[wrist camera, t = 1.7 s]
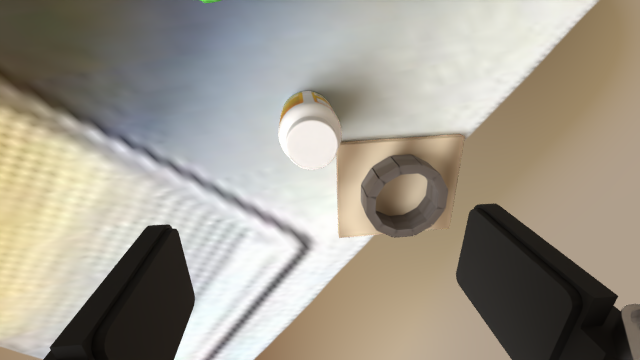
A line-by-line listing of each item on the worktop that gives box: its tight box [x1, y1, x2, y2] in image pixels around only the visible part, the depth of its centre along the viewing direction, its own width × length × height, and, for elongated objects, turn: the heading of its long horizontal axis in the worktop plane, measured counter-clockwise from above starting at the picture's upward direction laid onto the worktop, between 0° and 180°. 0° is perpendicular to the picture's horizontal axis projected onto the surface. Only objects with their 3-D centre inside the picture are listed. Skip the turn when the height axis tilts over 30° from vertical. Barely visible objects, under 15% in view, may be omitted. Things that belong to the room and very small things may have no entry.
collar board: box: [336, 134, 465, 238], centre depth 34 cm, size 14×12×4 cm
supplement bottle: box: [278, 91, 342, 170], centre depth 27 cm, size 5×5×10 cm
